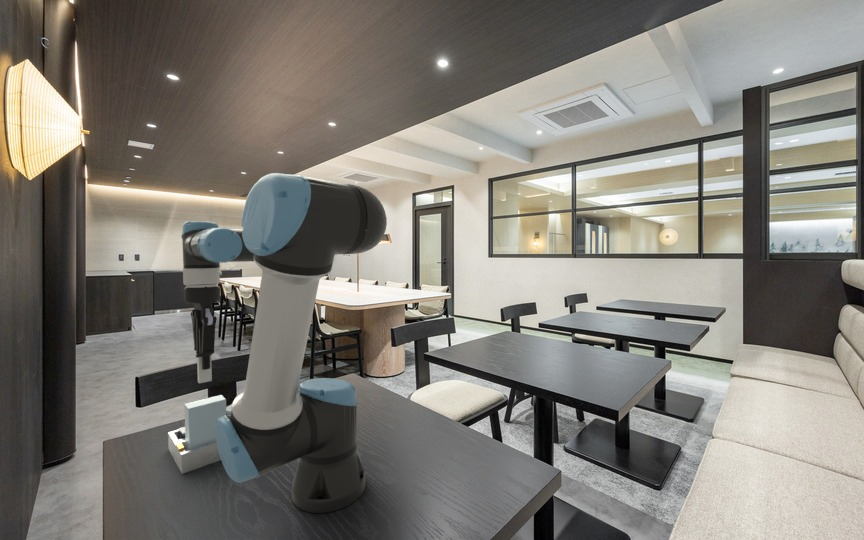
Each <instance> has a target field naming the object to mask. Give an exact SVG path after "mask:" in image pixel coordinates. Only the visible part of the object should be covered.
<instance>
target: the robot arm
mask: <svg viewBox="0 0 864 540" xmlns="http://www.w3.org/2000/svg"><path fill="white" fill-rule="evenodd" d="M387 219H388V218H387V214H386V211H385V208H384V206H383V203H382V202H381V200H379V198H378V197H377V196H376V195H375V194H374V193H373V192H371V191H370V190H368V189H367V188H364V187H362V186H359V185H355V184H351V183H343V182H337V181H332V180H331V181H330V180H326V179H320V178H315V177H310V176H305V175H299V174H295V173H294V174H285V173H278V172H275V173H274V172H272V173H268V174H266V175H264V176H262V177H260V178H259V180H258V181H257V182H255V183H254V185H253V186H252V188H251V189H250V190H249V193H248V194H247V197H246V199H245V202H244V206H243V210H242V215H241V227H242V229H236V228H234V229H233V228H227V227H219V224H217V223H216V222H213V221H201V220H200V221H196V220H195V221H194V220H192V221H185V222H184V223H182V230H181V231H182V232H181V233H182V234H180V236H181V239H182V240H181V241H182V243H181V244H182V264H183V268H182V273H183V274H182V279H183V282H182V283H183V284H182V285H184V286H185V287H184V288H183V301H184V302H185V303H186V304H193V309H192V310H191V312H190V316H191V323H192V336H193V346H194V347H193V349H194V351H195V358H196V359H197V360H196V363H197V365H196V366H197V368H196V369H197V383H198V384H204V383H208V382H212V381H213V374H212V373H213V371H212V369H213V368H212V367H213V365H212V355H213V354H215V342H216V341H215V339H216V326H217V325H216V324H217V316H216V315H215V309H213V306H212V303H215V302H219V301H220V300H221V286H219V284H220V283H221V282H220V281H221V276H222V275H223V272H222V271H221V270H220V269H221V268H220V267H221V265H220V263H221V264H222V263H225V264H226V263H233V262H234V263H238V262H239V263H240V262H243V263H245V262H254V263H255V264H256V265H257V267H259V268H260V269H261V270H262V272H261V279H260V285H259V286H260V287H259V293H258V299H257V303H256V304H257V306H256V310H255V311H256V312H255V320H254V325H253V332H252V338H251V344H250V350H249V351H250V352H249V358H248V364H247V369H246V370H247V371H246V377H245V378H246V379H245V383H244V390H242V391H240V393H238V394H237V395H236V396H235V398H234V400H233V401H232V403H231V404H232V411H231V414H229V415H223V417H221V418H219V419H218V420H217V421H216V424H215V436H216V442H217V447H218V451H219V454H220V458H221V460H220V461H221V463H222V466H223V468H224V470H225V472H226V474H227V476H228V477H229V479H231V480H232V481H233V482H235V483H238V484H239V483H240V484H241V483H244V482H245V483H246V482H247V481H250V480H253V479H256V478H257V479H258V478H260V477H261V476H263V475H265V474H267V473H269V472H272V471H274V470H276V469H278V468H280V467H283V466H285V465H287V464H289V463H292V462H293V461H296V460H298V459H299V461H298V463H297V464H298V465H297V467H296V470H295V474H294V477H293V480H292V483H291V501H292V503H293V504H294V505H295V506H296V507H297V509H299V510H301V511H304V512H307V513H313V514H323V513H324V514H325V513H331V512H336V511H339V510H341V509H344V508H346V507H349V506H350V505H351V504H353V503H355V502H356V501H357V500H358V499H359V498H360V497H361V496H362V495H363V493H364V491H365V489H366V471H365V469H364V466H363V463H362V460H361V457H360V455H359V452H358V446H357V444H358V442H357V441H358V438H357V437H358V434H357V433H358V430H357V429H358V428H357V427H358V426H357V425H358V424H357V406H358V400H357V391H356V388H355V386H354V384H352V383H351V382H349V381H347V380H344V379H339V378H333V377H331V378H330V377H328V378H327V377H321V378H320V377H319V378H310V379H306V380H304V381H303V382H301V383H300V379H301V373H302V368H303V363H304V358H305V353H306V349H307V344H308V338H309V334H310V329H311V323H312V320H313V319H312V318H313V314H314V308H315V303H316V300H317V299H316V298H317V294H318V289H319V283H320V279H322V278H324V277H326V276H328V275H329V274H330V273H331V271H332V269H333V263H334V260H335V256H336V255H355V254H361V253H365V252H368V251H370V250H372V249H373V248H375V247H376V246H378V244H379V243H380V242H381V241H382V239H383V237H384V235H385V232H386V230H387V223H388V222H387Z"/></svg>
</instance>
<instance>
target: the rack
mask: <svg viewBox="0 0 864 540" xmlns="http://www.w3.org/2000/svg"><path fill="white" fill-rule="evenodd" d="M167 436H168V437H167V438H168V439H167V443H168V451H169V453H170V455H171V457H172V458H173V461H174V462H175V464H176V466H177V467H178V469H179V472H180V473H181V475H182V474H185V473H189V472H191V471H194V470H197V469H200V468H203V467H205V466H207V465H211V464H213V463H216V462H217V463H218V462H219V461H221V458H220V454H219V451H218V447H217V442H213V443H210V444H207V445H204V446H201V447H198V448H195V449H191V450H188V451H186V441H185V426H182V427H179V428H178V429H176V430H172V431H168V432H167Z"/></svg>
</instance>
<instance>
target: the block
mask: <svg viewBox="0 0 864 540" xmlns="http://www.w3.org/2000/svg"><path fill="white" fill-rule="evenodd" d="M183 406H184V407H183V408H184V427H185V441H186V451H188V450H191V449H195V448H198V447H201V446H204V445H207V444H210V443H213V442H216V436H215V424H216V421H217V420H218V419H219V418H221V417H223V415H226V407H227V399H226V398H225V397H224V395H222V394H219V395H215V396H211V397H210V396H209V397H207V398H203V399H199V400H195V401H190V402H186V403H184V405H183Z"/></svg>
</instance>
